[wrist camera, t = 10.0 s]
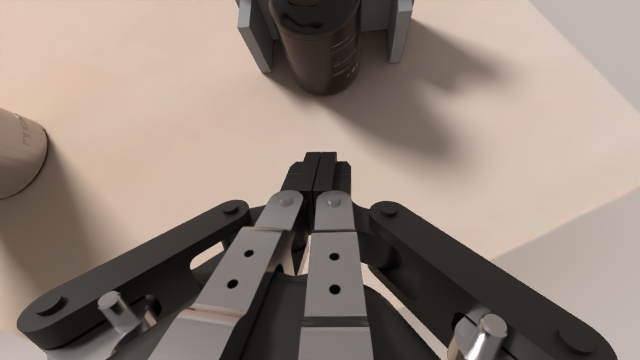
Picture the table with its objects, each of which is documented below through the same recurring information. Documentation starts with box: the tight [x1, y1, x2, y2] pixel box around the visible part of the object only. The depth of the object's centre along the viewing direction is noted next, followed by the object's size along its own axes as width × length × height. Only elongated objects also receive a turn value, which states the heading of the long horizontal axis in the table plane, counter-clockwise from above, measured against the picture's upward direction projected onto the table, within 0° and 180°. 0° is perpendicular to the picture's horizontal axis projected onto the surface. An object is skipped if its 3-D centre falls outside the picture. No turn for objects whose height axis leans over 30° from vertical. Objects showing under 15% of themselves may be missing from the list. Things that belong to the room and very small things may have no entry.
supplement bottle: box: [268, 0, 362, 96], centre depth 21 cm, size 7×7×12 cm
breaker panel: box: [235, 0, 414, 73], centre depth 23 cm, size 6×16×10 cm, turn 89°
